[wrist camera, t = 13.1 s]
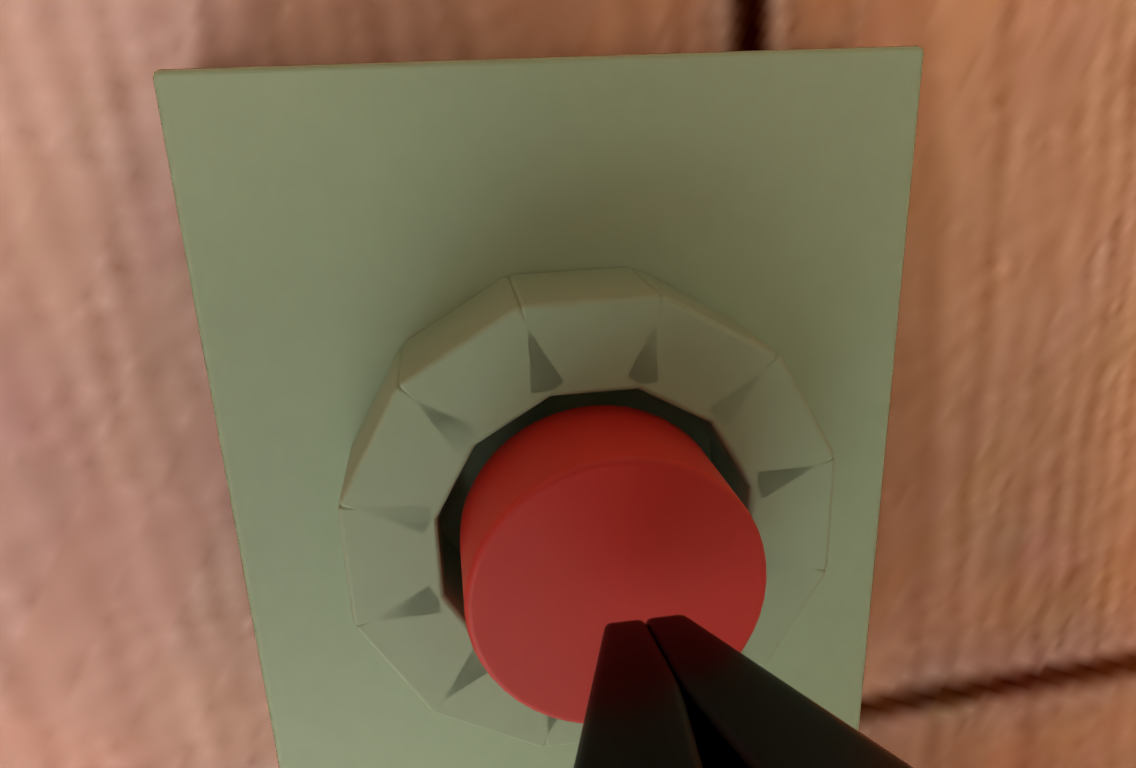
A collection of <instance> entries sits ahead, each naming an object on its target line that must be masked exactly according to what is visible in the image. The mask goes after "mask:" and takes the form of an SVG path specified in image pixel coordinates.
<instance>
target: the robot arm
mask: <svg viewBox="0 0 1136 768" xmlns="http://www.w3.org/2000/svg"><path fill="white" fill-rule="evenodd" d="M574 768H913V767H911V766H910V765H908V764H907V763H905V762H904V761H902V760H901V759H899V758H898V757H896V756H895V755H893V754H892V753H890V752H889V751H887V750H886V749H884V748H883V747H881V746H880V745H878V744H877V743H875V742H874V741H872V740H871V739H869V738H868V737H866V736H865V735H863V734H862V733H860V732H859V731H857V730H856V729H854V728H853V727H851V726H850V725H848V724H847V723H845V722H844V721H842V720H841V719H839V718H838V717H836V716H835V715H833V714H832V713H830V712H829V711H827V710H826V709H824V708H823V707H821V706H820V705H818V704H817V703H815V702H814V701H812V700H811V699H809V698H808V697H806V696H805V695H803V694H802V693H800V692H799V691H797V690H796V689H794V688H793V687H791V686H790V685H788V684H787V683H785V682H784V681H782V680H781V679H779V678H778V677H777V676H775V675H774V674H772V673H771V672H769V671H768V670H766V669H765V668H763V667H762V666H760V665H759V664H757V663H756V662H754V661H753V660H751V659H750V658H748V657H747V656H745V655H744V654H742V653H741V652H739V651H738V650H736V649H735V648H733V647H732V646H730V645H729V644H727V643H726V642H724V641H723V640H721V639H720V638H718V637H717V636H715V635H714V634H712V633H711V632H709V631H708V630H706V629H705V628H703V627H702V626H700V625H699V624H697V623H696V622H694V621H693V620H691V619H690V618H688V617H686V616H684V615H679V614H678V615H671V616H663V617H655V618H650V619H648V620H647V621H646V623H644V622H643V621H642V620H630V621H622V622H613V623H608V624H607V625H606V626H605V628H604V632H603V637H602V641H601V646H600V650H599V655H598V659H597V664H596V668H595V673H594V677H593V682H592V686H591V691H590V695H589V700H588V704H587V709H586V713H585V718H584V723H583V727H582V732H581V736H580V741H579V745H578V750H577V754H576V759H575V763H574Z"/></svg>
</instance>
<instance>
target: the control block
mask: <svg viewBox="0 0 1136 768" xmlns="http://www.w3.org/2000/svg"><path fill="white" fill-rule="evenodd" d="M922 63H923V48H921V47H919V46H888V47H856V48H825V49H793V50H762V51H730V52H699V53H667V54H635V55H604V56H572V57H541V58H509V59H477V60H446V61H414V62H383V63H351V64H320V65H288V66H256V67H225V68H193V69H162V70H158V71H156V72H154V76H153V81H154V86H155V92H156V97H157V103H158V108H159V114H160V119H161V125H162V130H163V135H164V141H165V146H166V152H167V157H168V163H169V168H170V174H171V179H172V185H173V190H174V195H175V201H176V206H177V212H178V217H179V223H180V228H181V234H182V239H183V245H184V250H185V255H186V261H187V266H188V272H189V277H190V283H191V288H192V294H193V299H194V305H195V310H196V315H197V321H198V326H199V332H200V337H201V343H202V348H203V354H204V359H205V364H206V370H207V375H208V381H209V386H210V392H211V397H212V403H213V408H214V414H215V419H216V424H217V430H218V435H219V441H220V446H221V452H222V457H223V463H224V468H225V474H226V479H227V484H228V490H229V495H230V501H231V506H232V512H233V517H234V523H235V528H236V534H237V539H238V544H239V550H240V555H241V561H242V566H243V572H244V577H245V583H246V588H247V594H248V599H249V604H250V610H251V615H252V621H253V626H254V632H255V637H256V643H257V648H258V654H259V659H260V664H261V670H262V675H263V681H264V686H265V692H266V697H267V703H268V708H269V714H270V719H271V724H272V730H273V735H274V741H275V746H276V752H277V757H278V763H279V768H574V763H575V759H576V754H577V750H578V745H579V741H580V736H581V732H582V727H583V723H576V722H569V721H565V720H561V719H557V718H553V717H550V716H547V715H545V714H542V713H540V712H537V711H535V710H533V709H531V708H529V707H527V706H526V705H524V704H522V703H520V702H519V701H517V700H516V699H515V698H513V697H512V696H511V695H509V694H508V693H507V692H506V691H504V690H503V689H502V688H501V687H500V685H499V684H498V683H497V682H496V681H495V680H494V679H493V678H492V677H491V676H490V675H489V673H488V672H487V671H486V669H485V668H484V667H483V665H482V664H481V662H480V660H479V658H478V657H477V655H476V653H475V651H474V649H473V646H472V643H471V640H470V637H469V634H468V631H467V626H466V619H465V613H464V598H463V583H462V568H461V554H460V524H461V517H462V512H463V508H464V505H465V501H466V498H467V495H468V493H469V491H470V488H471V486H472V484H473V482H474V480H475V478H476V477H477V475H478V474H479V472H480V470H481V469H482V467H483V466H484V465H485V463H486V462H487V461H488V460H489V458H490V457H491V456H492V455H493V453H494V452H495V451H496V450H498V449H499V448H500V447H501V446H502V445H503V444H504V443H505V442H506V441H507V440H508V439H510V438H511V437H512V436H514V435H515V434H516V433H518V432H519V431H521V430H522V429H524V428H525V427H527V426H529V425H531V424H532V423H534V422H536V421H538V420H540V419H543V418H545V417H547V416H550V415H552V414H555V413H558V412H561V411H565V410H569V409H572V408H578V407H585V406H592V405H614V406H624V407H630V408H634V409H639V410H643V411H646V412H649V413H651V414H654V415H656V416H659V417H661V418H663V419H665V420H667V421H669V422H670V423H672V424H674V425H676V426H677V427H678V428H680V429H681V430H682V431H684V432H685V433H686V434H688V435H689V436H690V437H691V438H692V439H693V440H694V441H695V442H696V443H697V444H698V445H699V446H700V448H701V449H702V450H703V452H704V453H705V454H706V456H707V457H708V458H709V460H710V461H711V462H712V464H713V465H714V466H715V467H716V469H717V470H718V471H719V473H720V474H721V475H722V477H723V478H724V479H725V481H726V482H727V483H728V484H729V486H730V487H731V488H732V490H733V491H734V492H735V494H736V495H737V496H738V498H739V499H740V500H741V502H742V503H743V504H744V506H745V507H746V508H747V510H748V511H749V512H750V514H751V516H752V518H753V520H754V522H755V524H756V526H757V528H758V530H759V533H760V536H761V539H762V542H763V546H764V552H765V557H766V576H767V579H766V589H765V597H764V602H763V605H762V609H761V613H760V616H759V619H758V621H757V624H756V626H755V629H754V631H753V633H752V635H751V636H750V638H749V640H748V642H747V644H746V645H745V647H744V648H743V650H742V651H741V653H742V654H744V655H745V656H747V657H748V658H750V659H751V660H753V661H754V662H756V663H757V664H759V665H760V666H762V667H763V668H765V669H766V670H768V671H769V672H771V673H772V674H774V675H775V676H777V677H778V678H779V679H781V680H782V681H784V682H785V683H787V684H788V685H790V686H791V687H793V688H794V689H796V690H797V691H799V692H800V693H802V694H803V695H805V696H806V697H808V698H809V699H811V700H812V701H814V702H815V703H817V704H818V705H820V706H821V707H823V708H824V709H826V710H827V711H829V712H830V713H832V714H833V715H835V716H836V717H838V718H839V719H841V720H842V721H844V722H845V723H847V724H848V725H850V726H851V727H853V728H854V729H856V730H857V731H859V720H860V710H861V699H862V689H863V678H864V668H865V658H866V647H867V637H868V626H869V616H870V605H871V595H872V585H873V574H874V564H875V553H876V543H877V532H878V522H879V511H880V501H881V491H882V480H883V470H884V459H885V449H886V438H887V428H888V418H889V407H890V397H891V386H892V376H893V365H894V355H895V344H896V334H897V324H898V313H899V303H900V292H901V282H902V271H903V261H904V251H905V240H906V230H907V219H908V209H909V198H910V188H911V177H912V167H913V157H914V146H915V136H916V125H917V115H918V104H919V94H920V83H921V73H922Z"/></svg>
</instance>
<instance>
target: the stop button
mask: <svg viewBox="0 0 1136 768" xmlns="http://www.w3.org/2000/svg"><path fill="white" fill-rule="evenodd" d="M460 554H461V568H462V583H463V598H464V613H465V619H466V626H467V631H468V634H469V637H470V640H471V643H472V646H473V649H474V651H475V653H476V655H477V657H478V658H479V660H480V662H481V664H482V665H483V667H484V668H485V669H486V671H487V672H488V673H489V675H490V676H491V677H492V678H493V679H494V680H495V681H496V682H497V683H498V684H499V685H500V687H501V688H502V689H503V690H504V691H506V692H507V693H508V694H509V695H511V696H512V697H513V698H515V699H516V700H517V701H519V702H520V703H522V704H524V705H526V706H527V707H529V708H531V709H533V710H535V711H537V712H540V713H542V714H545V715H547V716H550V717H553V718H557V719H561V720H565V721H569V722H576V723H584V718H585V713H586V709H587V704H588V700H589V695H590V691H591V686H592V682H593V677H594V673H595V668H596V664H597V659H598V655H599V650H600V646H601V641H602V637H603V632H604V628H605V626H606V625H607V624H608V623H613V622H622V621H630V620H642V621H643V622H644V623H646V621H647V620H648V619H650V618H655V617H663V616H671V615H678V614H679V615H684V616H686V617H688V618H690V619H691V620H693V621H694V622H696V623H697V624H699V625H700V626H702V627H703V628H705V629H706V630H708V631H709V632H711V633H712V634H714V635H715V636H717V637H718V638H720V639H721V640H723V641H724V642H726V643H727V644H729V645H730V646H732V647H733V648H735V649H736V650H738V651H739V652H741V651H742V650H743V648H744V647H745V645H746V644H747V642H748V640H749V638H750V636H751V635H752V633H753V631H754V629H755V626H756V624H757V621H758V619H759V616H760V613H761V609H762V605H763V602H764V597H765V589H766V579H767V576H766V557H765V552H764V546H763V542H762V539H761V536H760V533H759V530H758V528H757V526H756V524H755V522H754V520H753V518H752V516H751V514H750V512H749V511H748V510H747V508H746V507H745V506H744V504H743V503H742V502H741V500H740V499H739V498H738V496H737V495H736V494H735V492H734V491H733V490H732V488H731V487H730V486H729V484H728V483H727V482H726V481H725V479H724V478H723V477H722V475H721V474H720V473H719V471H718V470H717V469H716V467H715V466H714V465H713V464H712V462H711V461H710V460H709V458H708V457H707V456H706V454H705V453H704V452H703V450H702V449H701V448H700V446H699V445H698V444H697V443H696V442H695V441H694V440H693V439H692V438H691V437H690V436H689V435H688V434H686V433H685V432H684V431H682V430H681V429H680V428H678V427H677V426H676V425H674V424H672V423H670V422H669V421H667V420H665V419H663V418H661V417H659V416H656V415H654V414H651V413H649V412H646V411H643V410H639V409H634V408H630V407H624V406H614V405H592V406H585V407H578V408H572V409H569V410H565V411H561V412H558V413H555V414H552V415H550V416H547V417H545V418H543V419H540V420H538V421H536V422H534V423H532V424H531V425H529V426H527V427H525V428H524V429H522V430H521V431H519V432H518V433H516V434H515V435H514V436H512V437H511V438H510V439H508V440H507V441H506V442H505V443H504V444H503V445H502V446H501V447H500V448H499V449H498V450H496V451H495V452H494V453H493V455H492V456H491V457H490V458H489V460H488V461H487V462H486V463H485V465H484V466H483V467H482V469H481V470H480V472H479V474H478V475H477V477H476V478H475V480H474V482H473V484H472V486H471V488H470V491H469V493H468V495H467V498H466V501H465V505H464V508H463V512H462V517H461V524H460Z"/></svg>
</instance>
